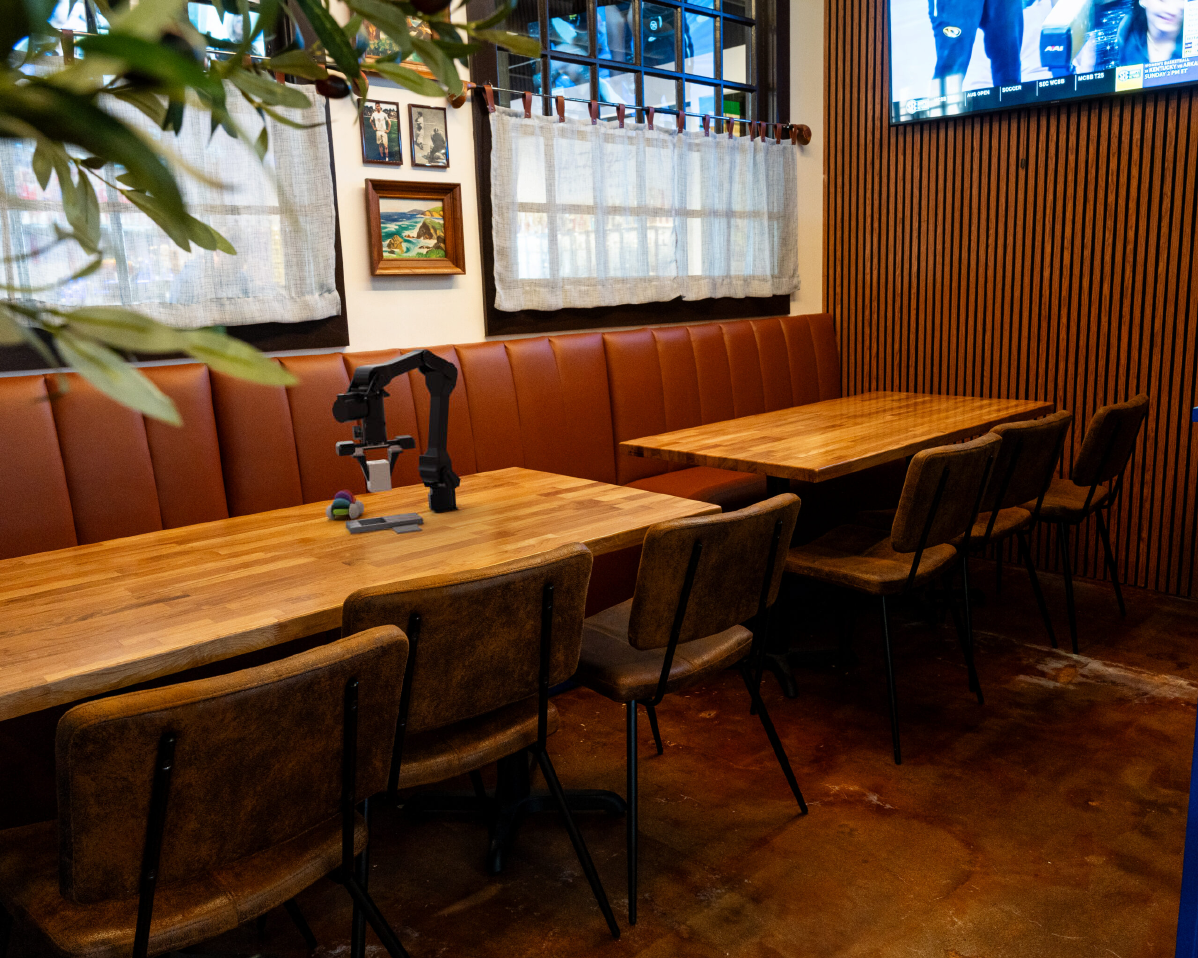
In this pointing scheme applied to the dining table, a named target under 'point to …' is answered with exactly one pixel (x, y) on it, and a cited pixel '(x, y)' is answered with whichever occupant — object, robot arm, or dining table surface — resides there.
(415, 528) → the pad
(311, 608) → the dining table surface
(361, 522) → the plate with rectangular hole
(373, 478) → the brushed metal block
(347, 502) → the rainbow dome toy
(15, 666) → the dining table surface
